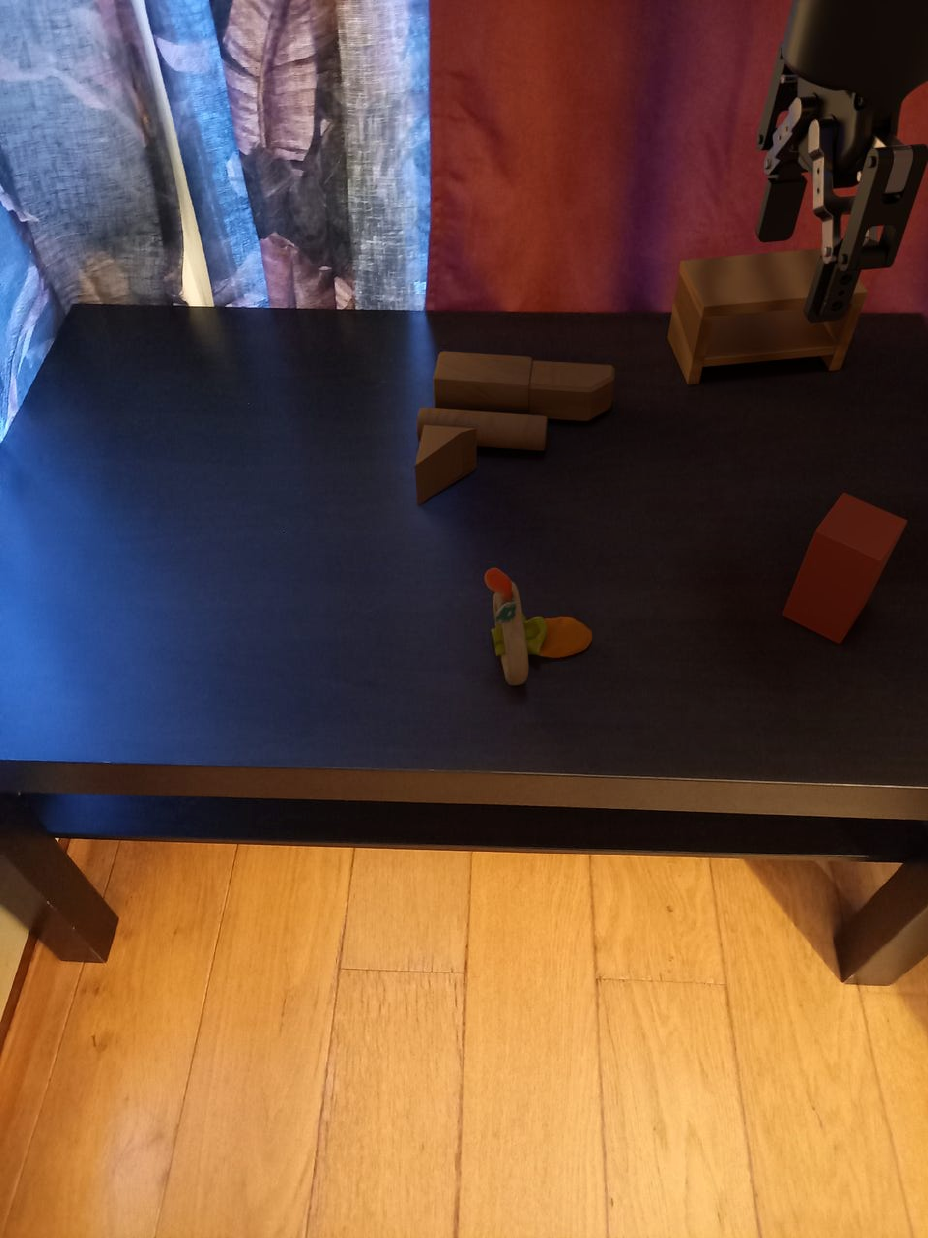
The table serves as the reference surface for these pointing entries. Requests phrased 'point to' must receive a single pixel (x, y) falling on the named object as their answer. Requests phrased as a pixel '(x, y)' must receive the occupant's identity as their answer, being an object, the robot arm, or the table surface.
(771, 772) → the table surface
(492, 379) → the wooden block set
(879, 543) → the block
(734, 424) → the table surface
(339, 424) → the table surface
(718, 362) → the shelf
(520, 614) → the rattle
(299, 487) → the table surface
